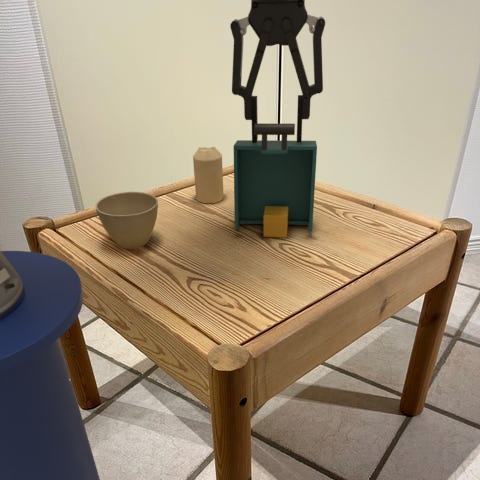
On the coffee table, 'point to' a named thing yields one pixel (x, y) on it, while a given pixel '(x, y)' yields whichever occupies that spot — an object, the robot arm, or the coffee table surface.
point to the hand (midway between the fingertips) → (276, 139)
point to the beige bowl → (128, 217)
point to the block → (275, 221)
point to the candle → (208, 175)
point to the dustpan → (274, 176)
